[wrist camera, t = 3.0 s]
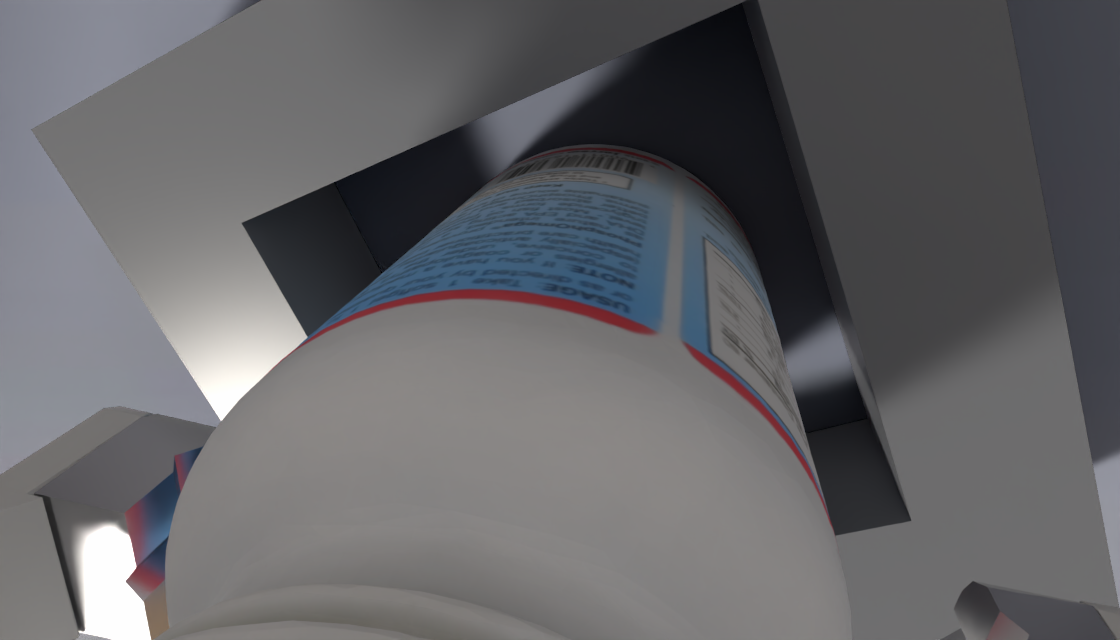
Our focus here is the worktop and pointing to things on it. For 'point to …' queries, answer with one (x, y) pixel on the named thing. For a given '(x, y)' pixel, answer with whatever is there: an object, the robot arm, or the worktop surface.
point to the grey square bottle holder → (826, 192)
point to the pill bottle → (525, 439)
